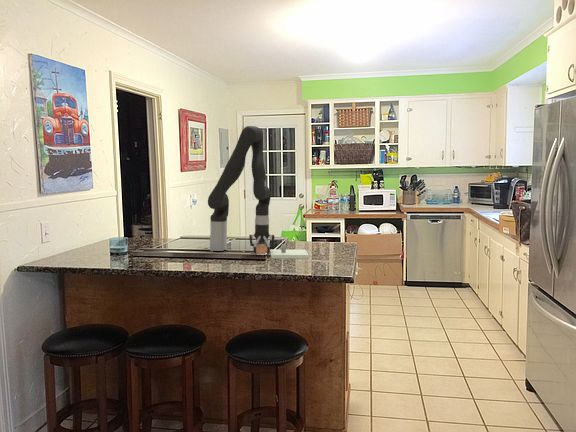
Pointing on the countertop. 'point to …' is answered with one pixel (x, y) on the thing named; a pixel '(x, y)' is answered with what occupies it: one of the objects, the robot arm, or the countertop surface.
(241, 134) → the robot arm
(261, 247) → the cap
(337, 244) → the countertop surface
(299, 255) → the post board
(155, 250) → the countertop surface
